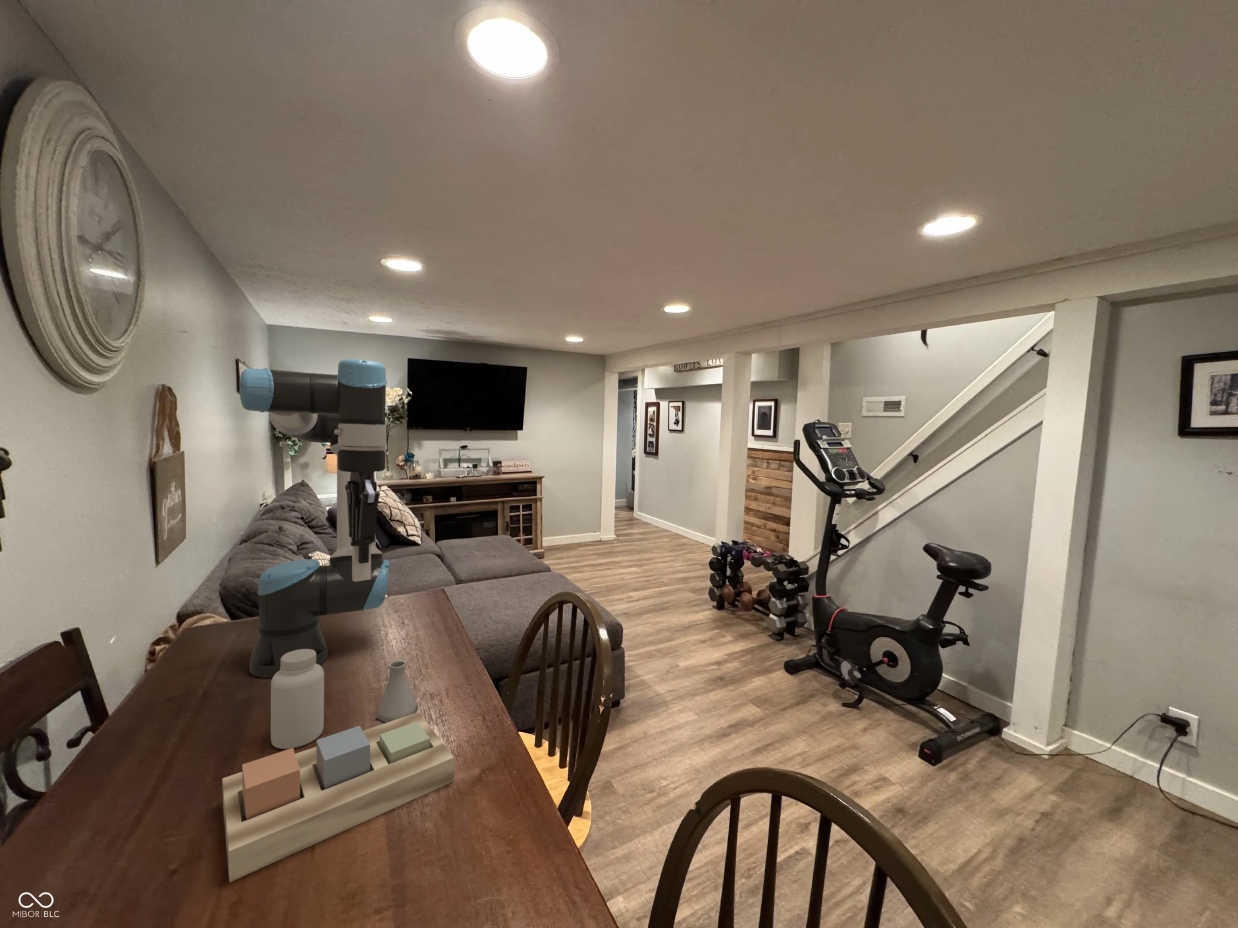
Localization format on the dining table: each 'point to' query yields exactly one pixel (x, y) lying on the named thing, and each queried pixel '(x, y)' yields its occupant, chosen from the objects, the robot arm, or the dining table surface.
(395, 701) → the flask
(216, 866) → the dining table surface
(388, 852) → the dining table surface
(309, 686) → the pill bottle
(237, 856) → the panel
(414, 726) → the button sage
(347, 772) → the button slate
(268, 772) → the button terracotta
